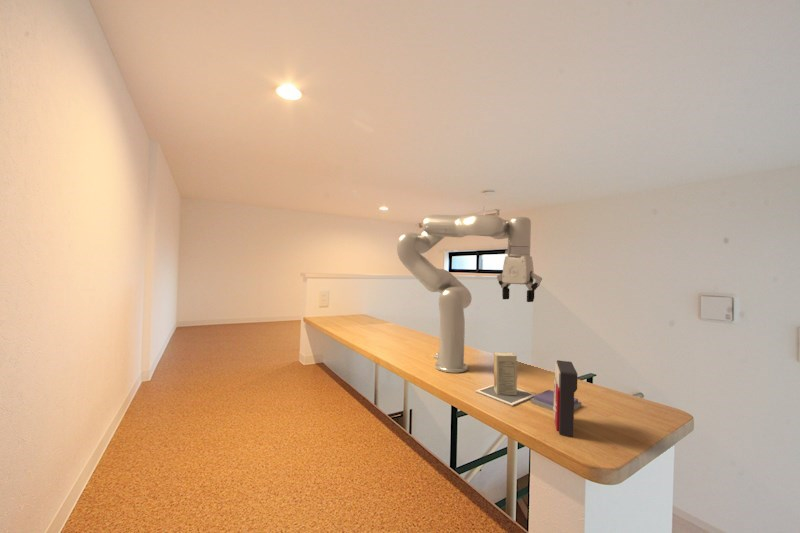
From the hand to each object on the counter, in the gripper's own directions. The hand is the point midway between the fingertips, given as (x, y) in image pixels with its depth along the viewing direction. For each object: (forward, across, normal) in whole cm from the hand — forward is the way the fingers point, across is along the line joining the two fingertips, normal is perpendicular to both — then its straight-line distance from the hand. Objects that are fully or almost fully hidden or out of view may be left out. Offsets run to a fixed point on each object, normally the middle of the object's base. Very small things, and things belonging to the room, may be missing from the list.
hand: (517, 300), depth 115 cm
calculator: (+28, +27, -20) cm, 44 cm away
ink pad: (+28, +19, -9) cm, 35 cm away
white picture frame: (+28, +6, -15) cm, 32 cm away
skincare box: (+28, +6, -15) cm, 32 cm away
